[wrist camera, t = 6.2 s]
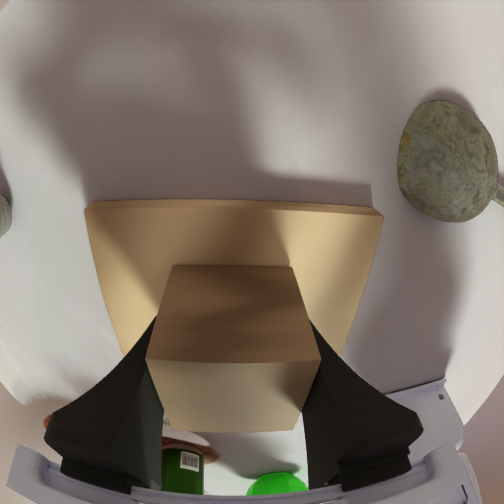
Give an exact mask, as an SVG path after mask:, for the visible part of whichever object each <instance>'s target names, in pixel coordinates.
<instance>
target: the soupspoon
mask: <svg viewBox="0 0 504 504" xmlns="http://www.w3.org/2000/svg"><path fill="white" fill-rule="evenodd" d="M397 174H398V182H399V187H400V190H401V191H402V193H403V194H404V195H405V196H406V197H407V198H408V200H410V202H411V203H413V204H414V205H415V206H416V207H417V208H418V209H419V210H421V211H422V212H424V213H425V214H428V215H429V216H431V217H433V218H435V219H438V220H441V221H445V222H464V221H468V220H470V219H472V218H474V217H476V216H477V215H479V214H480V213H481V212H482V211H483V210H484V209H485V208H486V206H487V205H488V204H489V202H490V200H494V201H496V202H497V203H499V204H500V205H502V206H503V207H504V191H503V190H502V189H501V188H500V187H498V186H497V178H498V160H497V153H496V149H495V145H494V143H493V140H492V137H491V135H490V134H489V132H488V130H487V129H486V127H485V126H484V125H483V123H482V122H481V121H480V120H479V119H478V118H477V117H476V116H475V115H473V114H472V113H470V112H469V111H468V110H466V109H464V108H462V107H461V106H458V105H457V104H454V103H452V102H449V101H442V100H440V101H431V102H425V103H424V104H422V105H420V106H419V107H418V108H417V109H416V110H415V111H414V113H413V114H412V116H411V117H410V119H409V121H408V122H407V124H406V127H405V129H404V131H403V134H402V137H401V141H400V145H399V151H398V162H397Z"/></svg>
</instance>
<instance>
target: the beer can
mask: <svg viewBox="0 0 504 504" xmlns="http://www.w3.org/2000/svg"><path fill="white" fill-rule="evenodd" d="M161 479H162V489H160V490H159V491H166V492H174V493H183V494H195V495H204V456H203V454H202V452H201V450H199V449H198V448H195V447H193V446H189V445H183V444H166V445H164V446H163V447H162V448H161Z"/></svg>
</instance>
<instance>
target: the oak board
mask: <svg viewBox="0 0 504 504" xmlns="http://www.w3.org/2000/svg"><path fill="white" fill-rule="evenodd" d="M84 213H85V219H86V225H87V230H88V235H89V240H90V245H91V250H92V254H93V259H94V263H95V267H96V271H97V275H98V279H99V282H100V286H101V290H102V293H103V297H104V300H105V303H106V307H107V310H108V313H109V316H110V319H111V322H112V325H113V328H114V331H115V334H116V337H117V340H118V342H119V345H120V348H121V351H122V353H123V356H124V357H125V356H126V354H127V353H128V352H129V351H130V350H131V349H132V347H133V346H134V345H135V343H136V342H137V341H138V340H139V338H140V337H141V336H142V334H143V333H144V332H145V330H146V329H147V327H148V326H149V325H150V323H151V322H152V320H153V319H154V317H155V316H157V314H158V310H159V307H160V303H161V300H162V297H163V293H164V290H165V287H166V284H167V281H168V277H169V274H170V271H171V268H172V265H207V266H270V267H292V268H293V271H294V274H295V277H296V280H297V283H298V286H299V289H300V292H301V295H302V298H303V302H304V305H305V308H306V311H307V314H308V317H309V319H310V320H311V322H312V323H313V324H314V326H315V327H316V329H317V330H318V331H319V333H320V334H321V335H322V336H323V338H324V339H325V340H326V341H327V343H328V344H329V345H330V346H331V347H332V349H333V350H334V351H335V352H336V353H337V354H338V356H339V357H340V355H341V352H342V350H343V347H344V345H345V342H346V340H347V337H348V334H349V332H350V329H351V326H352V323H353V321H354V318H355V315H356V312H357V309H358V306H359V303H360V300H361V297H362V294H363V291H364V288H365V285H366V282H367V278H368V275H369V272H370V268H371V265H372V261H373V258H374V254H375V250H376V247H377V243H378V239H379V235H380V231H381V227H382V223H383V219H384V216H383V215H381V214H380V213H379V212H378V211H377V210H375V209H374V208H370V207H359V206H347V205H333V204H319V203H302V202H282V201H258V200H218V199H156V200H117V201H95V202H93V203H92V204H91V205H90V206H88V207H87V208H86V209H85V210H84Z"/></svg>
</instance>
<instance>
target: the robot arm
mask: <svg viewBox="0 0 504 504" xmlns="http://www.w3.org/2000/svg"><path fill="white" fill-rule="evenodd" d="M156 317H157V316H155V317H154V319H153V320H152V322H151V323H150V325H149V326H148V327H147V329H146V330H145V332H144V333H143V334H142V336H141V337H140V338H139V340H138V341H137V342H136V343H135V345H134V346H133V347H132V349H131V350H130V351H129V352H128V353H127V354H126V356H125V357H124V358H123V359H122V360H121V361H120V362H119V364H118V365H117V366H116V367H115V368H114V369H113V370H112V371H111V372H110V373H109V374H108V375H107V376H106V377H104V378H103V379H102V380H101V381H100V382H99V383H98V384H96V385H95V386H94V387H93V388H91V389H90V390H89V391H87V392H86V393H85V394H83V395H82V396H80V397H79V398H78V399H76V400H75V401H73V402H71V403H70V404H68V405H66V406H64V407H63V408H61V409H59V410H57V411H55V412H53V414H52V416H51V418H50V420H49V423H48V426H47V429H46V433H45V436H44V440H45V442H46V443H47V444H48V445H49V446H50V447H51V448H52V449H54V450H55V451H56V452H57V453H58V454H60V455H61V456H62V457H63V460H62V464H61V465H60V464H57V463H54V462H52V461H49V460H48V459H47V458H46V457H45V456H43V455H42V454H40V453H39V452H37V451H35V450H32V449H30V448H28V447H26V446H24V445H22V444H20V443H19V444H18V445H17V449H16V451H15V455H14V458H13V461H12V465H11V468H10V472H9V476H8V480H7V487H9V488H11V489H12V490H14V491H16V492H17V493H19V494H21V495H22V496H24V497H26V498H28V499H30V500H31V501H33V502H35V503H37V504H139V503H143V504H320V503H325V502H329V503H325V504H482V499H481V495H480V490H479V486H478V482H477V479H476V477H475V474H474V471H473V469H472V466H471V464H470V462H469V459H468V458H467V456H466V454H465V453H460V452H457V450H458V449H459V448H460V446H461V444H462V442H463V439H464V426H463V423H462V420H461V418H460V416H459V414H458V412H457V410H456V408H455V406H454V404H453V402H452V400H451V399H450V397H449V395H448V393H447V391H446V389H445V387H444V385H445V383H446V382H447V380H446V379H441V380H438V381H435V382H432V383H428V384H425V385H421V386H418V387H414V388H411V389H407V390H403V391H399V392H395V393H391V394H386V395H384V394H382V393H381V392H379V391H378V390H376V389H375V388H374V387H372V386H371V385H369V384H368V383H367V382H366V381H364V380H363V379H362V378H361V377H360V376H358V375H357V374H356V373H355V372H354V371H353V370H352V369H351V368H350V367H349V366H348V365H347V364H346V363H345V362H344V361H343V360H342V359H341V358H340V357H339V356H338V354H337V353H336V352H335V351H334V350H333V349H332V347H331V346H330V345H329V344H328V343H327V341H326V340H325V339H324V338H323V336H322V335H321V334H320V333H319V331H318V330H317V329H316V327H315V326H314V324H313V323H312V322H311V320H310V319H309V321H310V324H311V327H312V330H313V333H314V337H315V340H316V343H317V347H318V350H319V353H320V356H321V362H320V365H319V368H318V371H317V373H316V376H315V378H314V381H313V384H312V386H311V389H310V391H309V394H308V396H307V399H306V401H305V403H304V406H303V408H302V410H301V411H302V416H303V423H304V431H305V440H306V450H307V463H308V483H309V490H304V491H297V492H289V493H280V494H268V495H249V496H214V495H195V494H183V493H174V492H166V491H159V490H160V489H162V479H161V446H162V427H163V415H164V408H163V406H162V403H161V401H160V398H159V396H158V393H157V390H156V388H155V385H154V382H153V380H152V377H151V374H150V371H149V369H148V366H147V363H146V360H145V357H146V353H147V350H148V346H149V342H150V338H151V335H152V331H153V328H154V324H155V320H156ZM335 500H336V501H335ZM330 501H333V502H330ZM137 502H138V503H137Z"/></svg>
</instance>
